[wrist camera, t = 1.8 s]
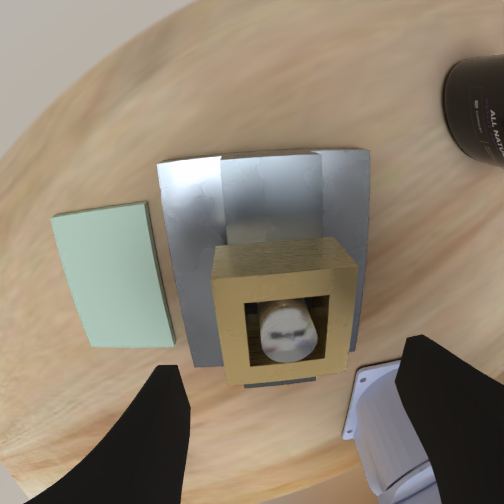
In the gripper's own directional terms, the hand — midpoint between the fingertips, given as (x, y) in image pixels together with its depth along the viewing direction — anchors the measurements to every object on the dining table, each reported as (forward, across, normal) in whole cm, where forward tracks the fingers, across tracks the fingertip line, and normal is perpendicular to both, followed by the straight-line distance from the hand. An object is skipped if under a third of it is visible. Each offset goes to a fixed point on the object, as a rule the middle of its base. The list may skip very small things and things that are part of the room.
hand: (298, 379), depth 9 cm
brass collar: (+5, 0, 0) cm, 5 cm away
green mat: (+9, +9, +1) cm, 13 cm away
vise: (+9, 0, 0) cm, 9 cm away
